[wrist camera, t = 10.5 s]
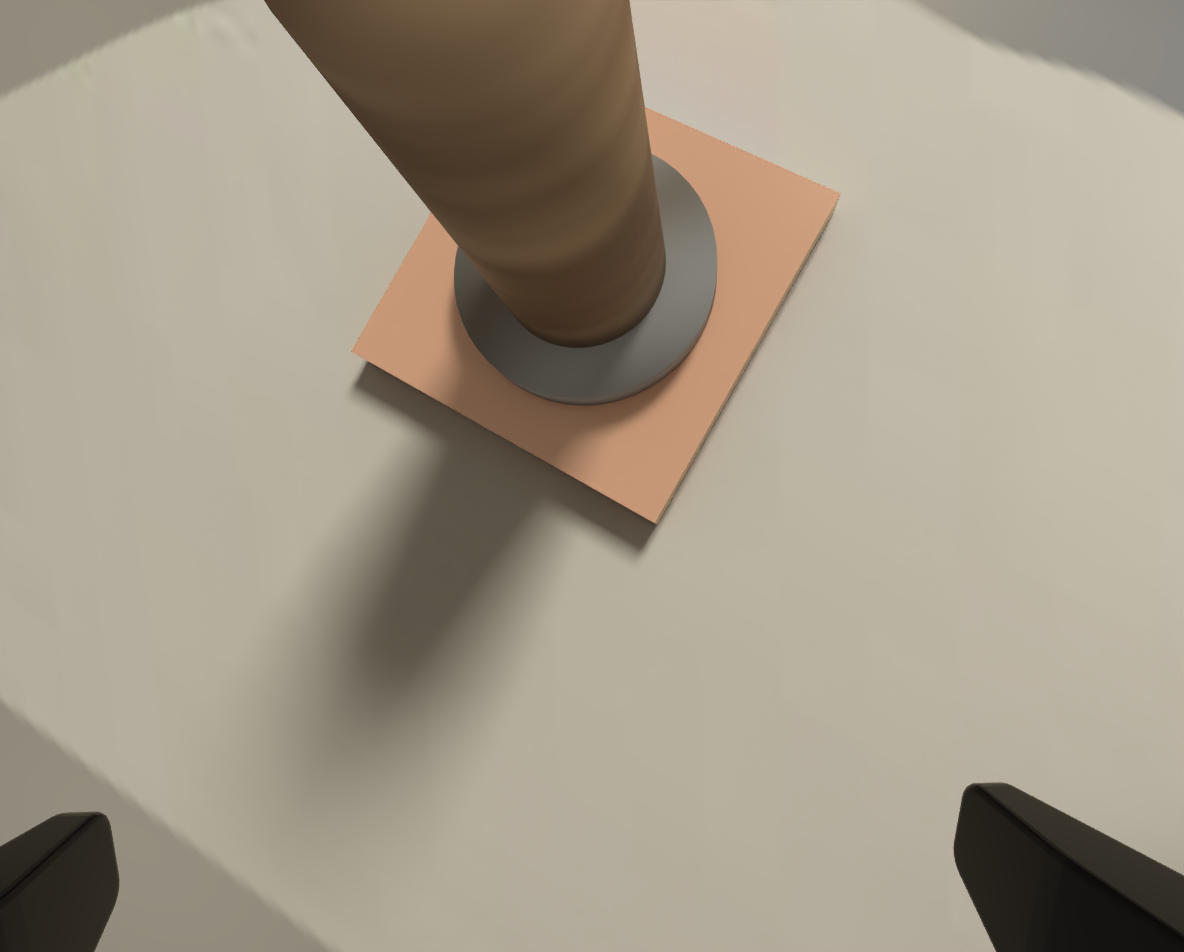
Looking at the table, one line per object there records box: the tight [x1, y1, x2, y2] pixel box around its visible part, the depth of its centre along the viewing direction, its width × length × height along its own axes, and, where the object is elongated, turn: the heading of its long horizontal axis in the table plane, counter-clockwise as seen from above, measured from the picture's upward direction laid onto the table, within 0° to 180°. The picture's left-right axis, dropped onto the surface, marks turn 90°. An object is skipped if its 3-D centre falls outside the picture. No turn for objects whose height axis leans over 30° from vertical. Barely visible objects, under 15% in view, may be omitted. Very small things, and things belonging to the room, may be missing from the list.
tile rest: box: [351, 107, 841, 525], centre depth 21 cm, size 10×10×1 cm
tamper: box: [264, 0, 717, 406], centre depth 14 cm, size 7×7×12 cm
